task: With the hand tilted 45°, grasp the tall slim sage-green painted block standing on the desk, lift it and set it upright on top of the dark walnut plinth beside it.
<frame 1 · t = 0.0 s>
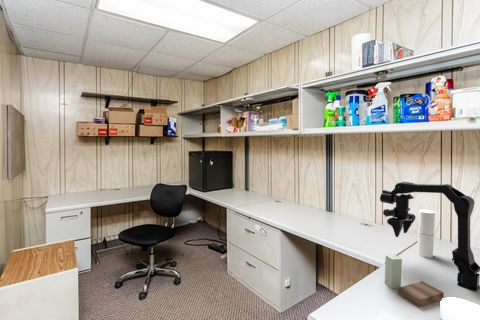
hand: (400, 234, 138), 15 cm above the table, tool pointing down, fingers open, 9 cm apart
cylindrical container: (424, 255, 147), on the table
plinth: (420, 296, 108), on the table
block: (392, 284, 117), on the table
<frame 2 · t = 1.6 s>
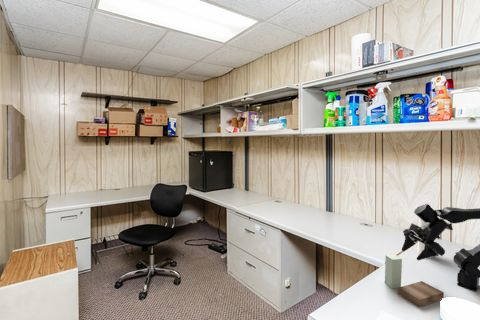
hand: (409, 254, 117), 13 cm above the table, tool tilted 45°, fingers open, 9 cm apart
nothing on the table moved.
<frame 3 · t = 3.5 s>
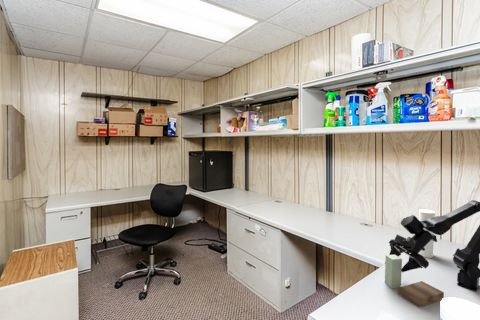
hand: (394, 266, 117), 9 cm above the table, tool tilted 45°, fingers open, 9 cm apart
nothing on the table moved.
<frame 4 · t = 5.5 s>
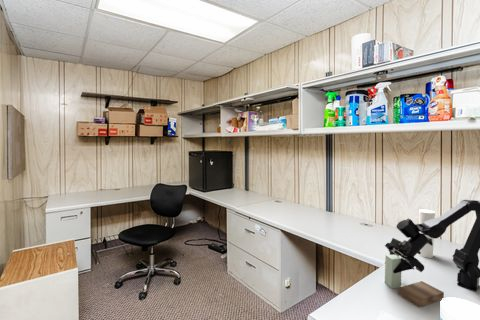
hand: (390, 269, 117), 7 cm above the table, tool tilted 45°, fingers closed on block, 4 cm apart
block: (392, 284, 117), on the table, touching gripper
everything else where it was.
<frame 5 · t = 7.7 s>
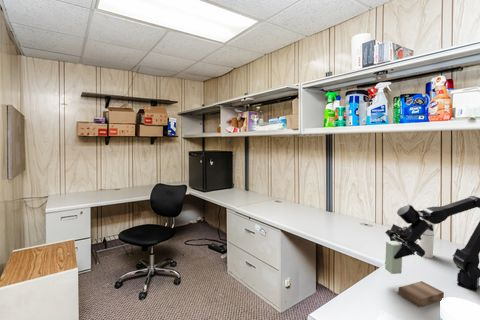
hand: (390, 256, 116), 14 cm above the table, tool tilted 45°, fingers closed on block, 4 cm apart
block: (393, 271, 117), point 6 cm above the table, touching gripper
everything else where it was.
when the fingers open (11 cm above the table, at t = 10.4 s): block stays where it is, resting on plinth.
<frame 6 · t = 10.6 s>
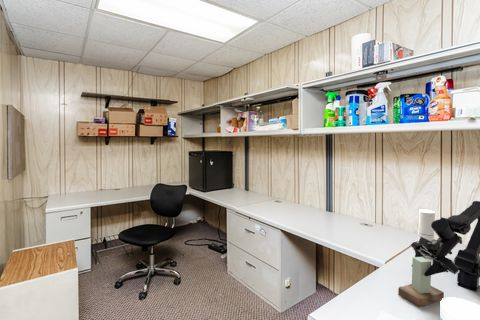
hand: (418, 271, 107), 11 cm above the table, tool tilted 45°, fingers open, 6 cm apart
block: (420, 289, 108), point 3 cm above the table, touching plinth
everything else where it was.
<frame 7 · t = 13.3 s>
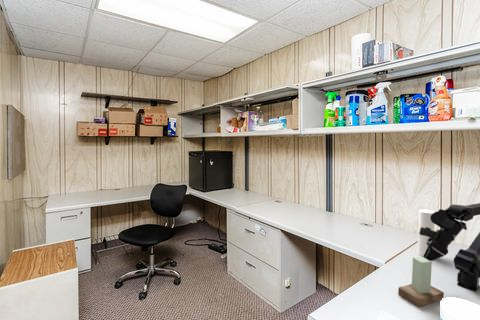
hand: (424, 260, 114), 13 cm above the table, tool tilted 35°, fingers open, 9 cm apart
nothing on the table moved.
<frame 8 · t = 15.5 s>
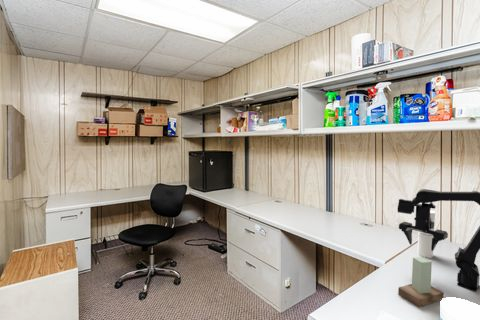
hand: (421, 247, 126), 13 cm above the table, tool pointing down, fingers open, 9 cm apart
nothing on the table moved.
at the end: block inside the target area on the plinth (0.0 cm from its centre), point 3.0 cm above the plinth's base; block tilted 0°; the gripper is holding nothing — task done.
